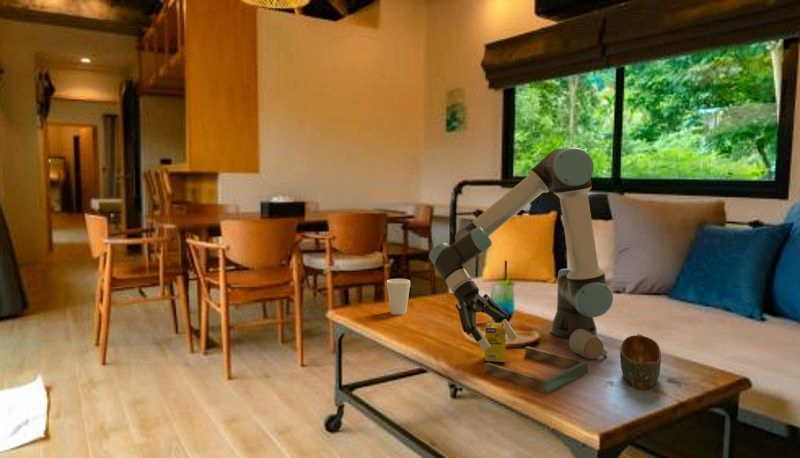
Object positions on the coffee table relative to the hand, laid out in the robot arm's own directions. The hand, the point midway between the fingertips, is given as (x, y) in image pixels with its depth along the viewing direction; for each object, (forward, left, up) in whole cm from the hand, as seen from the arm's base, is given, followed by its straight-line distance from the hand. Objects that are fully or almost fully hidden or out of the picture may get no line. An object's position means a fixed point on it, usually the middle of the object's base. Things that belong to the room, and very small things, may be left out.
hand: (501, 344), depth 163 cm
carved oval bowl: (-36, +13, -6) cm, 39 cm away
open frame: (-8, +8, -6) cm, 12 cm away
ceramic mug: (-28, -7, -6) cm, 30 cm away
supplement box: (+2, -2, -6) cm, 6 cm away
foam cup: (+32, -58, -6) cm, 66 cm away
